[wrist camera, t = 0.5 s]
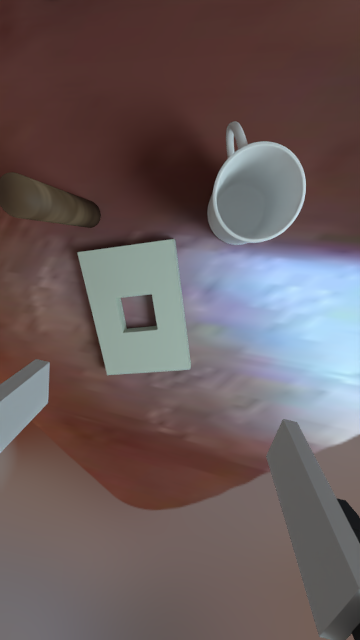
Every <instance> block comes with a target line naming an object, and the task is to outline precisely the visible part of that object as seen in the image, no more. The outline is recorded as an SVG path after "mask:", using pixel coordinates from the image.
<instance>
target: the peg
mask: <svg viewBox="0 0 360 640" xmlns="http://www.w3.org/2000/svg"><path fill="white" fill-rule="evenodd" d="M0 205H1V207H2V208H3V210H4V211H5V212H7V213H8V214H9V215H11V216H13V217H16V218H23V219H30V220H37V221H45V222H52V223H59V224H66V225H73V226H81V227H88V228H92V227H95V226H96V225H97V224H98V223H99V221H100V216H101V215H100V210H99V208H98V206H97V205H96V204H95V203H94V202H92V201H89V200H86V199H84V198H81V197H78V196H76V195H73V194H71V193H68V192H65V191H63V190H60V189H57V188H55V187H52V186H49V185H47V184H44V183H41V182H39V181H36V180H33V179H31V178H28V177H26V176H23V175H20V174H18V173H12V172H11V173H6V174H4V175H3V176H2V177H1V178H0Z"/></svg>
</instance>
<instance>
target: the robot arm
mask: <svg viewBox="0 0 360 640" xmlns="http://www.w3.org/2000/svg"><path fill="white" fill-rule="evenodd" d="M49 363H50V362H46V361H42V360H38V359H36V360H34V361H33V362H31V363H30V364H29V365H27V366H26V367H24V368H23V369H22V370H20V371H19V372H17V373H16V374H15V375H13V376H12V377H10V378H9V379H8V380H6V381H5V382H3V383H2V384H1V385H0V453H1V452H2V451H3V449H4V448H5V447H6V446H7V445H8V444H9V443H10V442H11V441H12V440H13V439H14V438H15V437H16V436H17V435H18V434H19V433H20V432H21V430H22V429H23V428H24V427H25V426H26V425H27V424H28V423H29V422H30V421H31V420H32V419H33V418H34V417H35V416H36V415H37V414H38V413H39V412H40V411H41V410H42V409H43V407H44V406H45V405H46V404H47V403H48V391H49ZM266 457H267V460H268V464H269V467H270V471H271V474H272V477H273V481H274V484H275V488H276V491H277V494H278V498H279V501H280V505H281V508H282V512H283V515H284V518H285V521H286V525H287V529H288V532H289V535H290V539H291V542H292V545H293V549H294V552H295V556H296V559H297V563H298V566H299V569H300V573H301V576H302V580H303V583H304V586H305V590H306V593H307V597H308V600H309V604H310V606H311V610H312V614H313V617H314V621H315V624H316V627H317V631H318V634H319V637H323V638H326V639H331V640H346V639H347V638H348V637H349V636H350V635H351V634H352V635H353V637H354V639H355V640H360V518H359V516H358V515H357V513H356V512H355V511H354V510H353V509H352V507H351V506H350V505H349V504H348V503H347V502H346V501H345V500H340V499H337V498H336V497H335V495H334V493H333V491H332V489H331V487H330V485H329V483H328V481H327V479H326V478H325V475H324V474H323V472H322V470H321V468H320V466H319V464H318V462H317V460H316V458H315V456H314V454H313V452H312V450H311V448H310V446H309V444H308V443H307V441H306V439H305V437H304V435H303V433H302V431H301V429H300V427H299V425H298V423H297V422H294V421H289V420H285V419H283V420H282V423H281V425H280V427H279V429H278V431H277V434H276V436H275V438H274V440H273V442H272V445H271V447H270V449H269V451H268V453H267V456H266Z"/></svg>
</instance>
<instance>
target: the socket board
mask: <svg viewBox="0 0 360 640" xmlns="http://www.w3.org/2000/svg"><path fill="white" fill-rule="evenodd" d="M77 253H78V258H79V262H80V266H81V270H82V274H83V278H84V282H85V286H86V290H87V294H88V298H89V302H90V306H91V310H92V314H93V318H94V323H95V327H96V331H97V335H98V339H99V343H100V347H101V351H102V355H103V359H104V363H105V367H106V371H107V375H116V374H131V373H146V372H160V371H175V370H190V366H191V361H190V354H189V346H188V338H187V330H186V322H185V314H184V306H183V298H182V291H181V283H180V275H179V267H178V259H177V251H176V243H175V239H170V240H163V241H156V242H148V243H141V244H134V245H127V246H120V247H112V248H105V249H98V250H91V251H83V252H77ZM149 294H152V298H153V304H154V310H155V316H156V322H157V326H150V327H139V328H129V329H127V327H126V322H125V318H124V313H123V308H122V303H121V298H122V297H131V296H140V295H149Z"/></svg>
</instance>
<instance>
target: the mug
mask: <svg viewBox="0 0 360 640" xmlns="http://www.w3.org/2000/svg"><path fill="white" fill-rule="evenodd" d="M234 136H235V139H236V142H237V145H238V150H237V151H236V152H235V153H234ZM226 146H227V156H228V159H227V160H226V162H225V163H224V164H223V166H222V167H221V169H220V171H219V173H218V175H217V177H216V180H215V183H214V187H213V193H212V196H211V198H210V201H209V204H208V210H207V216H208V222H209V225H210V228H211V230H212V231H213V233H214V234H215V235H216V236H217V237H218V238H219V239H220V240H222V241H223V242H226V243H228V244H233V245H241V244H246V243H255V242H263V241H267V240H270V239H272V238H274V237H276V236H278V235H280V234H281V233H282V232H284V231H285V230H286V229H287V228H288V227H289V226H290V225H291V224H292V223H293V222H294V220H295V219H296V217H297V216H298V214H299V212H300V210H301V208H302V205H303V202H304V198H305V192H306V180H305V174H304V171H303V168H302V166H301V164H300V162H299V160H298V159H297V157H296V156H295V155H294V154H293V153H292V152H291V151H290V150H289V149H287V148H286V147H284V146H282V145H280V144H277V143H274V142H266V141H264V142H255V143H251V144H249V145H248V143H247V140H246V137H245V134H244V132H243V129H242V127H241V125H240V124H239V123H238V122H236V121H234V122H231V123H230V124H229V125H228V127H227V131H226Z"/></svg>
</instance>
